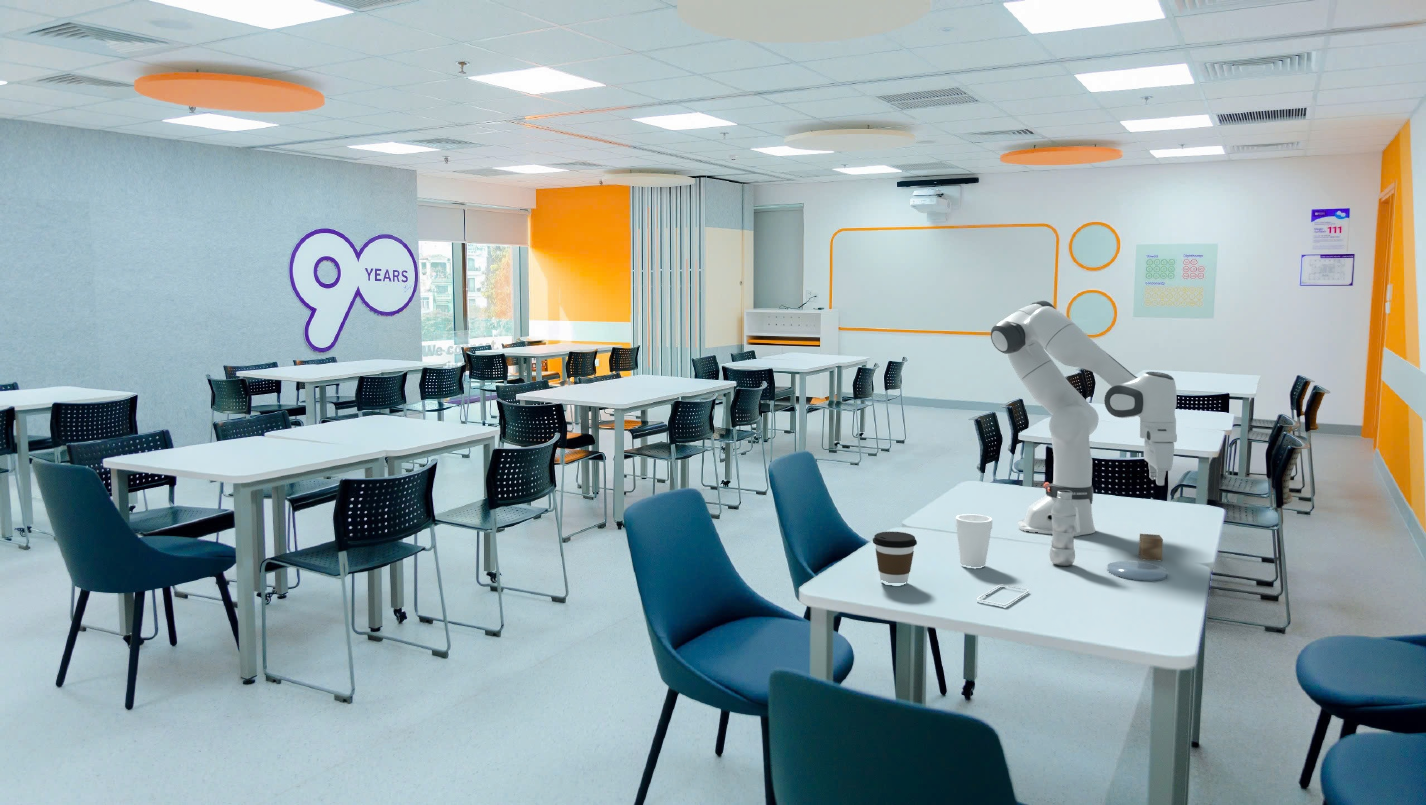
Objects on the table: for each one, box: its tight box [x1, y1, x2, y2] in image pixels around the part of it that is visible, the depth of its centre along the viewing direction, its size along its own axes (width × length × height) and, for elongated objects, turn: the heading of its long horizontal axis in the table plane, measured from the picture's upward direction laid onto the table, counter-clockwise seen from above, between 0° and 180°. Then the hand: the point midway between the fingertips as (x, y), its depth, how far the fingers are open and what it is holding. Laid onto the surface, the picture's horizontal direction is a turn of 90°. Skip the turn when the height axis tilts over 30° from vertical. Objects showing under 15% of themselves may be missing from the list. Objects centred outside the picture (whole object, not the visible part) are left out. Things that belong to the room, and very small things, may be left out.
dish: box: [1107, 560, 1168, 582], centre depth 240 cm, size 14×14×1 cm
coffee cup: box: [872, 531, 918, 583], centre depth 232 cm, size 11×11×12 cm
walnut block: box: [1138, 533, 1164, 561], centre depth 255 cm, size 5×5×6 cm
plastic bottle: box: [1048, 490, 1077, 567], centre depth 247 cm, size 6×7×20 cm
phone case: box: [975, 584, 1030, 606], centre depth 221 cm, size 7×1×15 cm
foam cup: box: [955, 513, 993, 567], centre depth 247 cm, size 10×9×13 cm
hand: (1156, 481), depth 254 cm, fingers open, 8 cm apart
